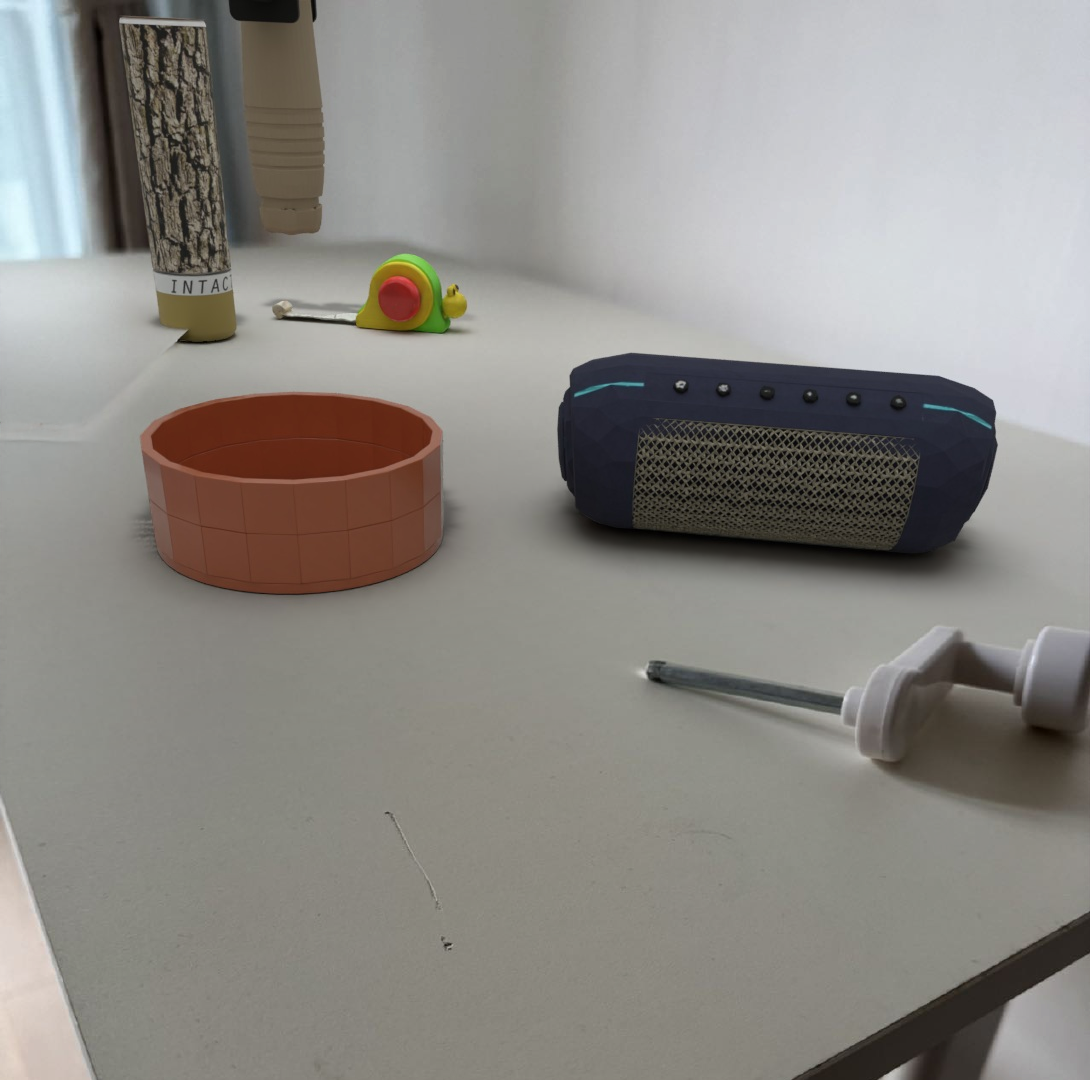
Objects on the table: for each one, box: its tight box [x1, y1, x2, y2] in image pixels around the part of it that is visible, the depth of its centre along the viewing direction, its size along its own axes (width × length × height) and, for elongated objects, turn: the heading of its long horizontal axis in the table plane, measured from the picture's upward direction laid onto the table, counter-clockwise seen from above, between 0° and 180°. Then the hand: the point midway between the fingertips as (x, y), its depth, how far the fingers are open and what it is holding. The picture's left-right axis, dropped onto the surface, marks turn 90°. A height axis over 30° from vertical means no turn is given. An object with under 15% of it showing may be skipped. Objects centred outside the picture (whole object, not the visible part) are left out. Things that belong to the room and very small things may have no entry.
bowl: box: [139, 391, 445, 595], centre depth 64 cm, size 16×16×6 cm
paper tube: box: [118, 15, 238, 343], centre depth 98 cm, size 7×7×25 cm
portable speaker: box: [556, 352, 999, 554], centre depth 65 cm, size 25×10×10 cm, turn 82°
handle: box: [240, 0, 326, 236], centre depth 57 cm, size 5×6×15 cm
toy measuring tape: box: [271, 253, 468, 334], centre depth 109 cm, size 6×20×7 cm, turn 80°
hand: (275, 17), depth 56 cm, fingers closed on handle, 4 cm apart
